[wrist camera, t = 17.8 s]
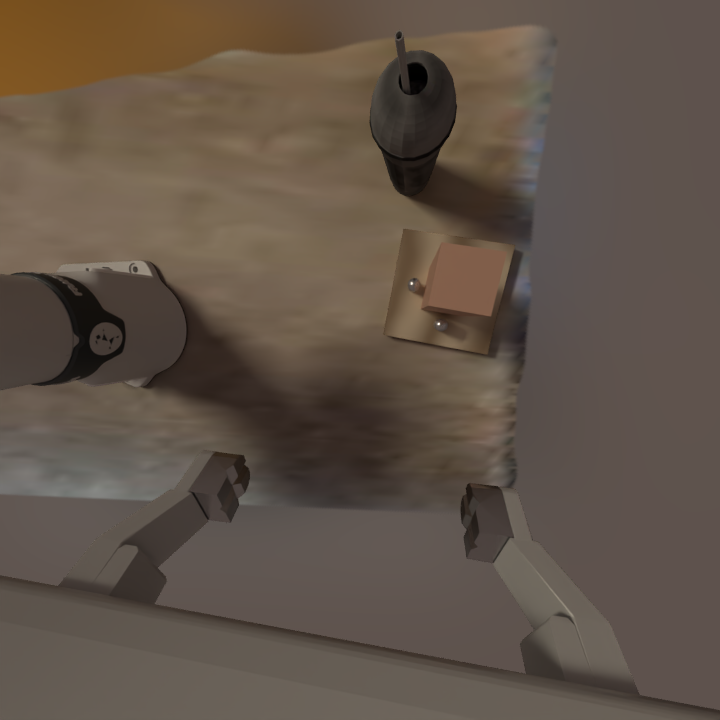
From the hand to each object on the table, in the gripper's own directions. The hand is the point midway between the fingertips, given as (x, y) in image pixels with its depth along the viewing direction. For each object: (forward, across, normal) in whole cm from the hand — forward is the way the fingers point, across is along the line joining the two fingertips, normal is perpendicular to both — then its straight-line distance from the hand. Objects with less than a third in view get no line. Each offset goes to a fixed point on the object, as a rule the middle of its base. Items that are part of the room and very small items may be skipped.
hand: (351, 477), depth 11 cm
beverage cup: (+37, -1, -7) cm, 38 cm away
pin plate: (+31, -7, +5) cm, 32 cm away
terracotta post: (+29, -7, +5) cm, 30 cm away
